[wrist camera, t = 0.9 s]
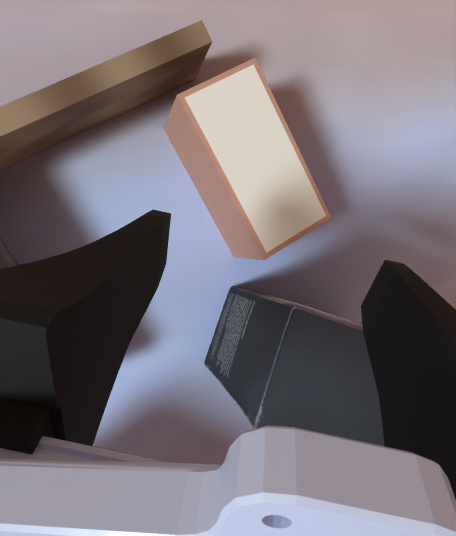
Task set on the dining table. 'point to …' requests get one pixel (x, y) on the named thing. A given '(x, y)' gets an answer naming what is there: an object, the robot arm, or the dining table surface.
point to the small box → (295, 367)
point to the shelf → (98, 97)
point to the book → (245, 162)
